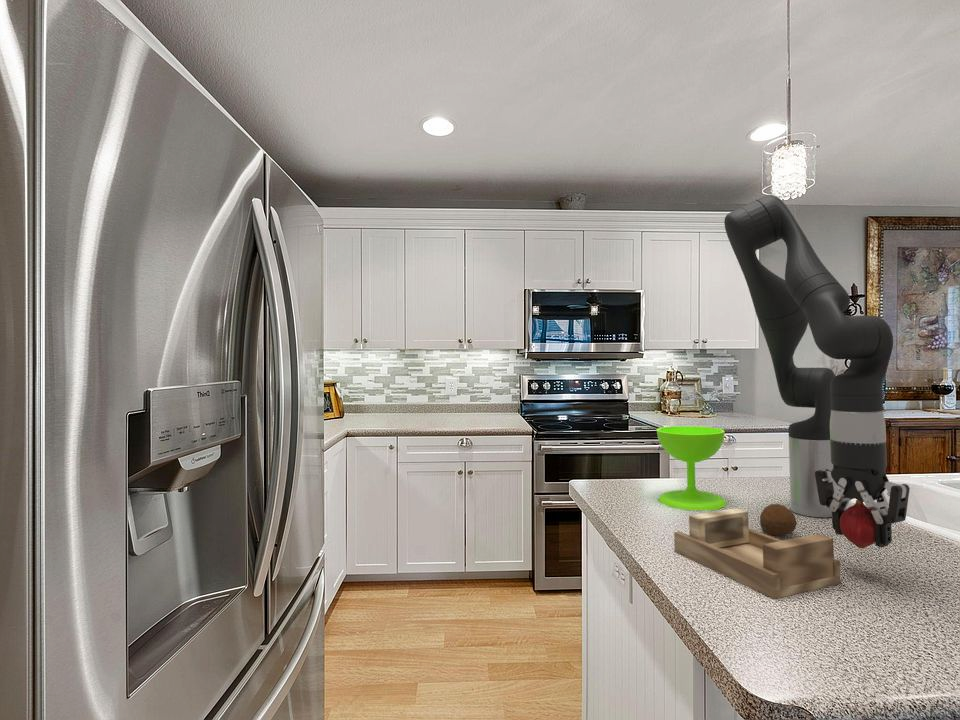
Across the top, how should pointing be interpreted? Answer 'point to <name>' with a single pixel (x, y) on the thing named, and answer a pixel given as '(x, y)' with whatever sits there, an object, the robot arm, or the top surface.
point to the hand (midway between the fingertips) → (861, 539)
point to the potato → (777, 520)
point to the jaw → (720, 527)
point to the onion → (858, 525)
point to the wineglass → (691, 463)
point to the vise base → (769, 562)
